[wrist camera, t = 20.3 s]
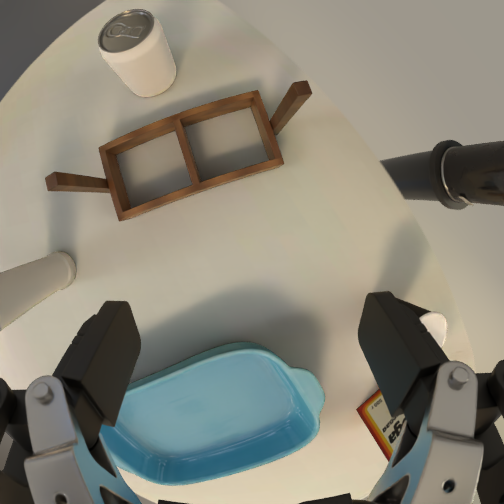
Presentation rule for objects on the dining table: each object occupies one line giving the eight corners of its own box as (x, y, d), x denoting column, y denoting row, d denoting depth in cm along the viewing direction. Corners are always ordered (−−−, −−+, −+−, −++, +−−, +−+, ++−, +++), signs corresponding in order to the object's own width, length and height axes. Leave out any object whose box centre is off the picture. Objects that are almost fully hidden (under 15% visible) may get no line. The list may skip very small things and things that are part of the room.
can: (141, 54, 27) (114, 5, 15) (184, 61, 28) (170, 7, 16) (121, 94, 28) (82, 55, 16) (165, 102, 29) (139, 59, 17)
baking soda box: (372, 420, 42) (409, 475, 26) (356, 409, 40) (394, 471, 25) (409, 386, 41) (454, 436, 25) (395, 373, 40) (446, 427, 24)
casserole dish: (273, 298, 35) (285, 321, 28) (331, 403, 39) (345, 431, 32) (76, 390, 35) (59, 415, 28) (154, 466, 39) (150, 491, 32)
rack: (264, 97, 30) (289, 40, 16) (287, 164, 32) (330, 141, 18) (101, 156, 29) (37, 135, 16) (120, 222, 31) (60, 238, 17)
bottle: (56, 289, 32) (-66, 374, 7) (45, 254, 31) (-90, 314, 6) (82, 282, 32) (-48, 378, 7) (71, 245, 31) (-78, 307, 6)
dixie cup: (349, 319, 37) (387, 357, 26) (383, 275, 36) (431, 299, 25) (379, 343, 38) (417, 379, 27) (410, 303, 37) (455, 330, 27)
